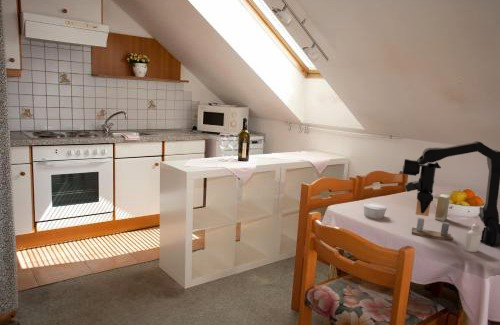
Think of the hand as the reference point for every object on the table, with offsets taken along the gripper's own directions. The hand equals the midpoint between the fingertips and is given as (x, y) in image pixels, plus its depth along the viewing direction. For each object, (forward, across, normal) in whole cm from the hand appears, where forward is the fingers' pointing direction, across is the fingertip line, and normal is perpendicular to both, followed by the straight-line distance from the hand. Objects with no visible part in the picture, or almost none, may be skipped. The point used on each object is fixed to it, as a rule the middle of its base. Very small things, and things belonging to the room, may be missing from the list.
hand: (422, 211), depth 179 cm
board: (+10, 0, +5) cm, 11 cm away
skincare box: (+10, -30, +10) cm, 33 cm away
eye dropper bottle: (+10, +11, +20) cm, 25 cm away
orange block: (+1, 0, 0) cm, 1 cm away
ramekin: (+10, -16, -21) cm, 28 cm away
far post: (+10, 0, 0) cm, 10 cm away
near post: (+10, 0, +10) cm, 14 cm away
